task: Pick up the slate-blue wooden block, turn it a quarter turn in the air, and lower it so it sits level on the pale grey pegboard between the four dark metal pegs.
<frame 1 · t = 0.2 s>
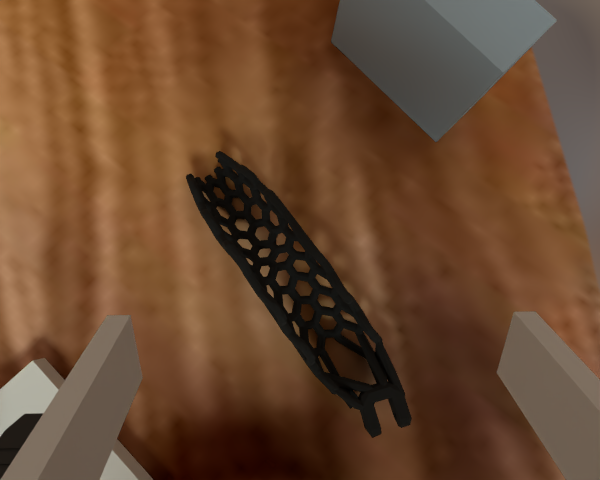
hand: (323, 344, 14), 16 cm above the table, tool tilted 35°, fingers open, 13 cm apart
decorative element: (294, 289, 31), on the table
slate block: (403, 72, 34), on the table
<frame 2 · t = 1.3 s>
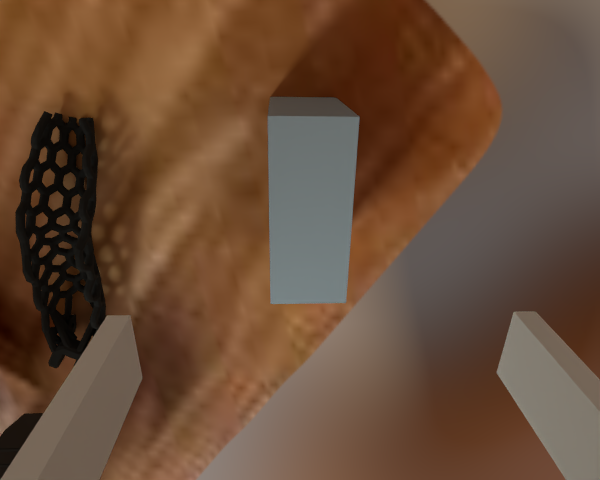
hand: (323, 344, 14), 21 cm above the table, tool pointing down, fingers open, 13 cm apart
decorative element: (85, 243, 36), on the table
slate block: (301, 173, 34), on the table
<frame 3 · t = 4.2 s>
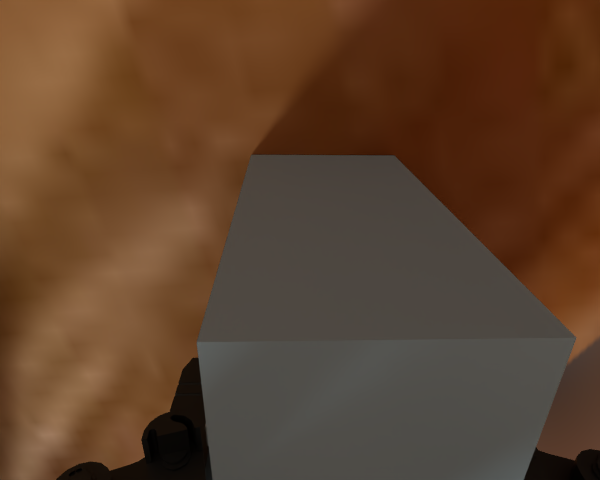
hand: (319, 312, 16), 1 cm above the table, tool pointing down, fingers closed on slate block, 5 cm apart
slate block: (317, 300, 17), on the table, touching gripper
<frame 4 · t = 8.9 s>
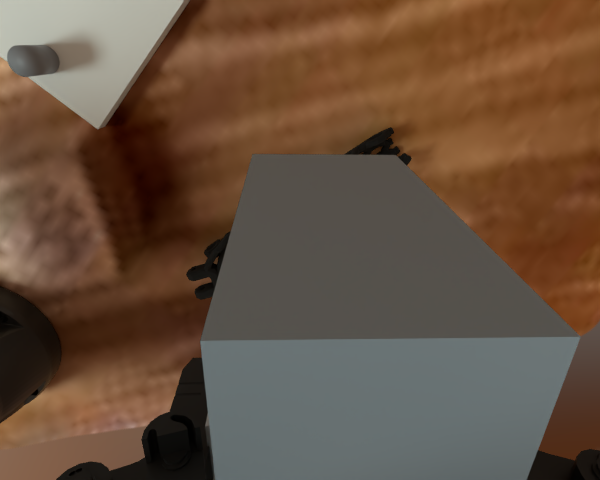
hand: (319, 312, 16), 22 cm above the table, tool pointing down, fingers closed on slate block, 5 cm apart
decorative element: (292, 210, 39), on the table
slate block: (318, 299, 17), point 21 cm above the table, touching gripper
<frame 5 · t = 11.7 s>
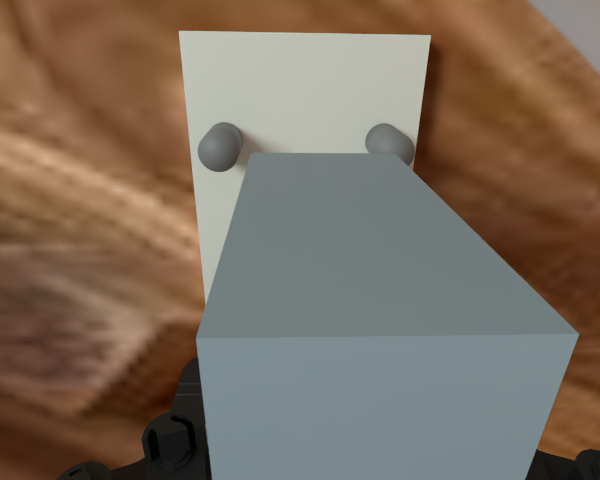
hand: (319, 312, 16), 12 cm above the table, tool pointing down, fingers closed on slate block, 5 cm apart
slate block: (317, 298, 17), point 11 cm above the table, touching gripper
pegboard: (302, 205, 27), on the table
when the fingers open (4 cm above the table, at t = 13.9 s): slate block drops 1 cm, resting on pegboard.
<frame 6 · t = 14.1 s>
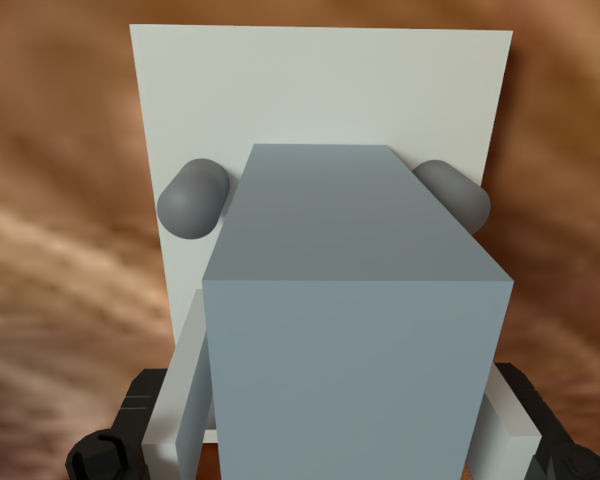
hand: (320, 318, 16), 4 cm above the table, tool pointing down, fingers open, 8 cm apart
slate block: (315, 281, 18), point 2 cm above the table, touching pegboard
pegboard: (313, 265, 20), on the table
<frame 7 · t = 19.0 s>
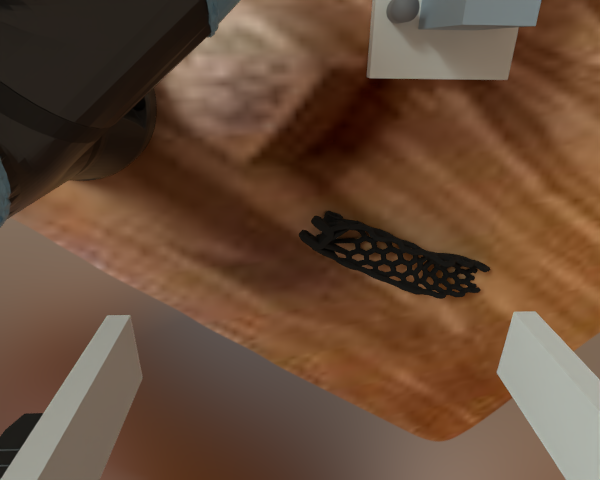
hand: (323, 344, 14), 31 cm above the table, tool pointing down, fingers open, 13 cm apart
decorative element: (391, 245, 48), on the table
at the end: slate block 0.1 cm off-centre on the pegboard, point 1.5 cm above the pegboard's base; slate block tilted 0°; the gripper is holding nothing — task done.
